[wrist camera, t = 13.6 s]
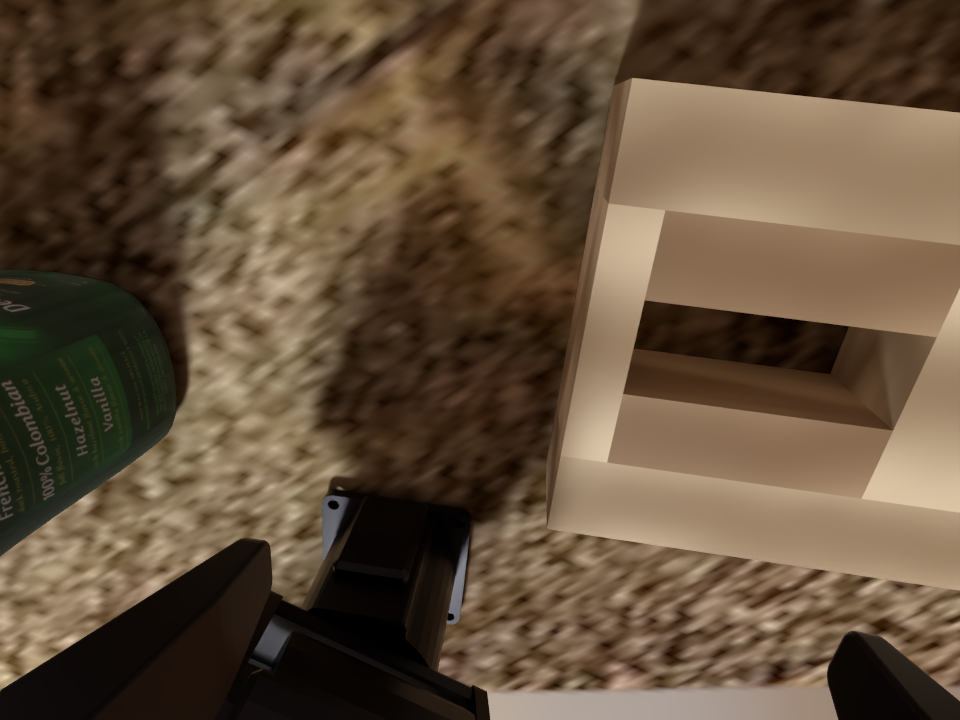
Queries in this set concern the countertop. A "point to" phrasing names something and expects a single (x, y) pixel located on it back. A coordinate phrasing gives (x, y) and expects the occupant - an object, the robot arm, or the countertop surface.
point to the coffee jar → (73, 392)
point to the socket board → (779, 293)
